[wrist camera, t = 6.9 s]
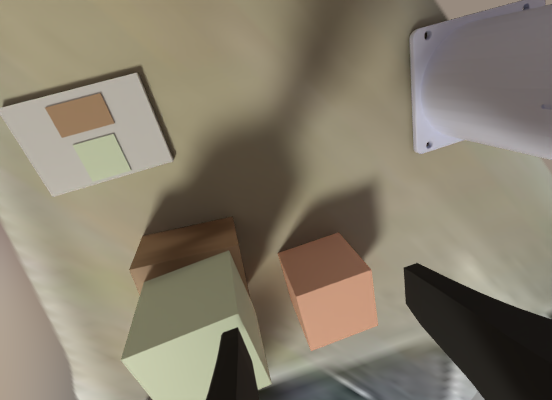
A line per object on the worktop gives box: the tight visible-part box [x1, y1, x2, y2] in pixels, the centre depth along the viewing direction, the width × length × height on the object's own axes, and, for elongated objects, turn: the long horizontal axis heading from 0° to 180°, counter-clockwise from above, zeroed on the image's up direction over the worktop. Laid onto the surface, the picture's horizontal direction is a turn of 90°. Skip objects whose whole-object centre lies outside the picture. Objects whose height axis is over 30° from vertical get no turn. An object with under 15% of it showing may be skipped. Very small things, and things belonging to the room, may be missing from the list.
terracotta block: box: [278, 232, 378, 351], centre depth 21 cm, size 5×5×5 cm
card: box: [0, 73, 174, 197], centre depth 16 cm, size 7×5×1 cm
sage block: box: [121, 250, 272, 400], centre depth 15 cm, size 5×5×5 cm
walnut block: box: [130, 217, 250, 297], centre depth 19 cm, size 6×6×4 cm
